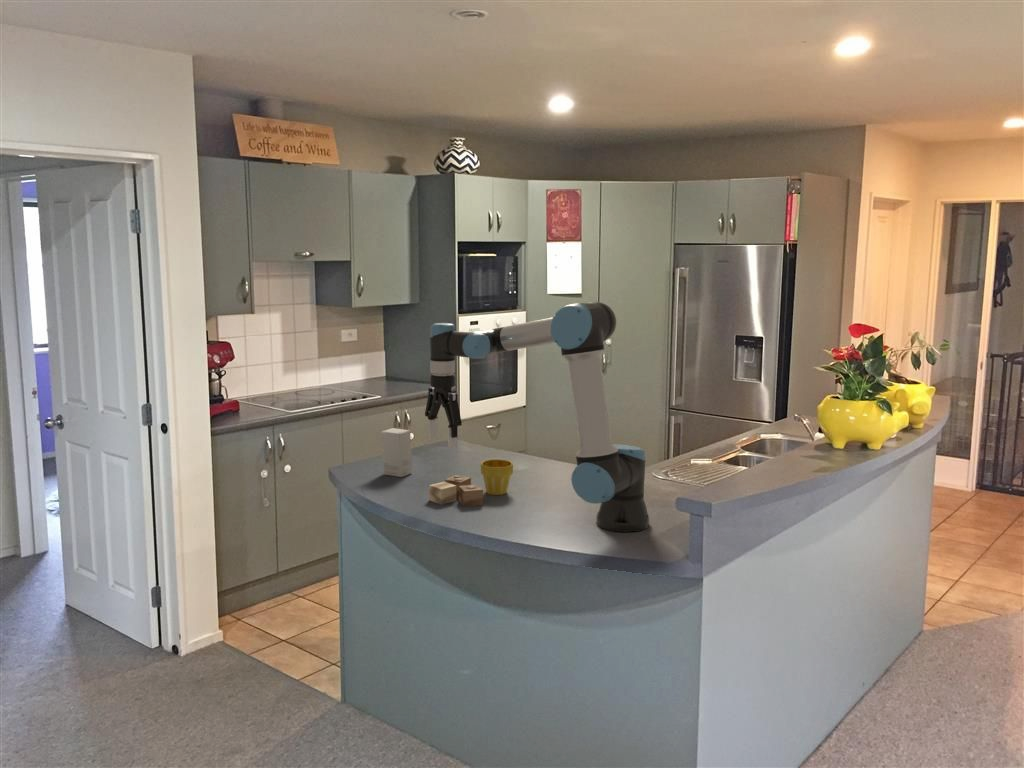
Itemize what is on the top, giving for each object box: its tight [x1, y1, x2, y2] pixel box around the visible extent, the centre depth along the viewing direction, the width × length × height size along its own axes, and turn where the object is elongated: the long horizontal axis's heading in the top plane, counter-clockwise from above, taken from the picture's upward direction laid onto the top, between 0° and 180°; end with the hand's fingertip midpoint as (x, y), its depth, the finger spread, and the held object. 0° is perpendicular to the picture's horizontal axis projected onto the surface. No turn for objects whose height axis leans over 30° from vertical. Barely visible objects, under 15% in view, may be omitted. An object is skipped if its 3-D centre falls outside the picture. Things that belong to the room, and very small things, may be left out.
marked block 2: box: [458, 483, 484, 508], centre depth 266 cm, size 6×6×5 cm
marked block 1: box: [444, 474, 472, 498], centre depth 277 cm, size 6×6×5 cm
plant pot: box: [480, 458, 514, 496], centre depth 277 cm, size 10×10×10 cm
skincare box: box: [380, 427, 413, 478], centre depth 297 cm, size 8×7×16 cm
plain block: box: [428, 481, 457, 505], centre depth 269 cm, size 6×6×5 cm
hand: (442, 443), depth 266 cm, fingers open, 11 cm apart
